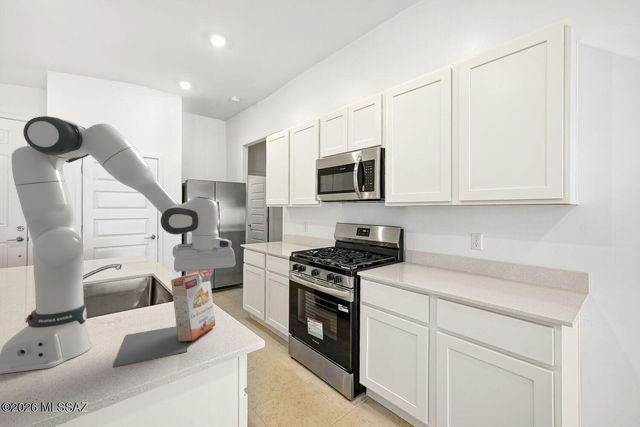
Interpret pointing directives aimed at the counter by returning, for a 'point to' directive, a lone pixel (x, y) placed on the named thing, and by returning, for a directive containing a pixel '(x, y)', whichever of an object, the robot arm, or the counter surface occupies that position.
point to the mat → (150, 346)
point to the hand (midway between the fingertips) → (205, 281)
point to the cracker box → (192, 306)
